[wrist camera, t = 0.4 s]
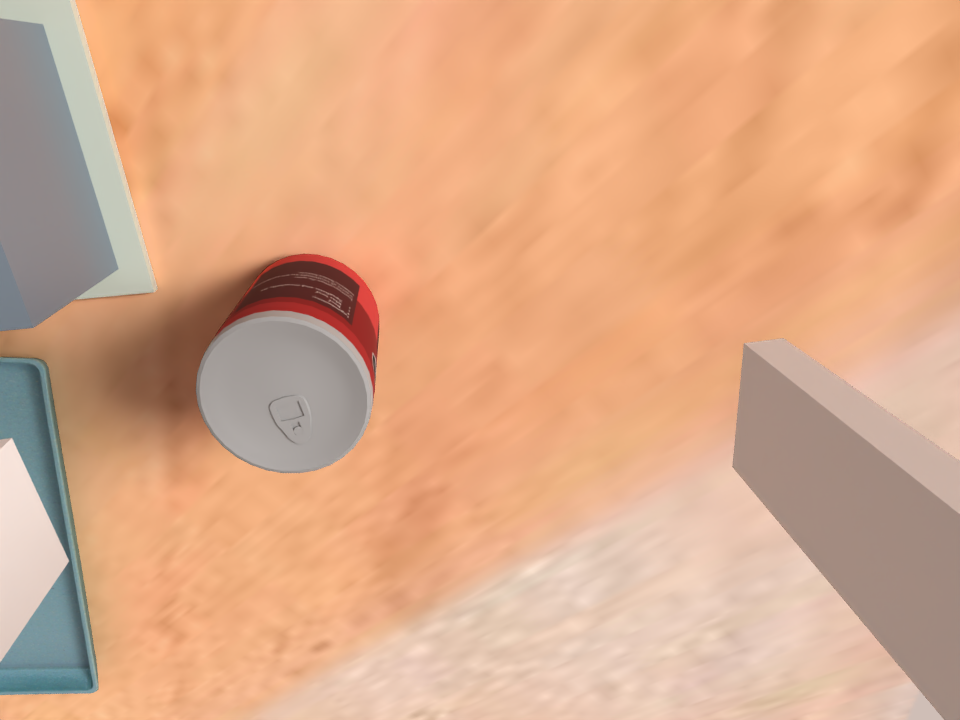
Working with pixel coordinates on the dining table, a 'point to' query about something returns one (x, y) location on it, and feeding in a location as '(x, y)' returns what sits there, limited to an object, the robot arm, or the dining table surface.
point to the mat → (92, 141)
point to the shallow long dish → (64, 611)
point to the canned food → (293, 367)
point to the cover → (42, 188)
